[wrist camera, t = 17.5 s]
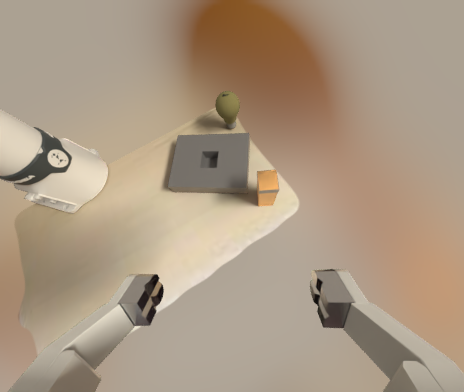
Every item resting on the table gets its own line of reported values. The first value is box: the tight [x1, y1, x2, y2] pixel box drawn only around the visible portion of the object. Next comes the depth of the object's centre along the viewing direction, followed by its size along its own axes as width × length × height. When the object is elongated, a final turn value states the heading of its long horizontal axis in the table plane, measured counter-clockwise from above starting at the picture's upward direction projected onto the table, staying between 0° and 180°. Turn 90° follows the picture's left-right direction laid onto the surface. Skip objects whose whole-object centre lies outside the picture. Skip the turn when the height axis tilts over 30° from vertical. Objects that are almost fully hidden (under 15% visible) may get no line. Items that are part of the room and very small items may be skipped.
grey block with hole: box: [168, 133, 250, 193], centre depth 41 cm, size 18×14×4 cm
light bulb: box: [216, 91, 240, 129], centre depth 41 cm, size 6×6×10 cm
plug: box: [257, 170, 279, 206], centre depth 34 cm, size 3×4×10 cm
